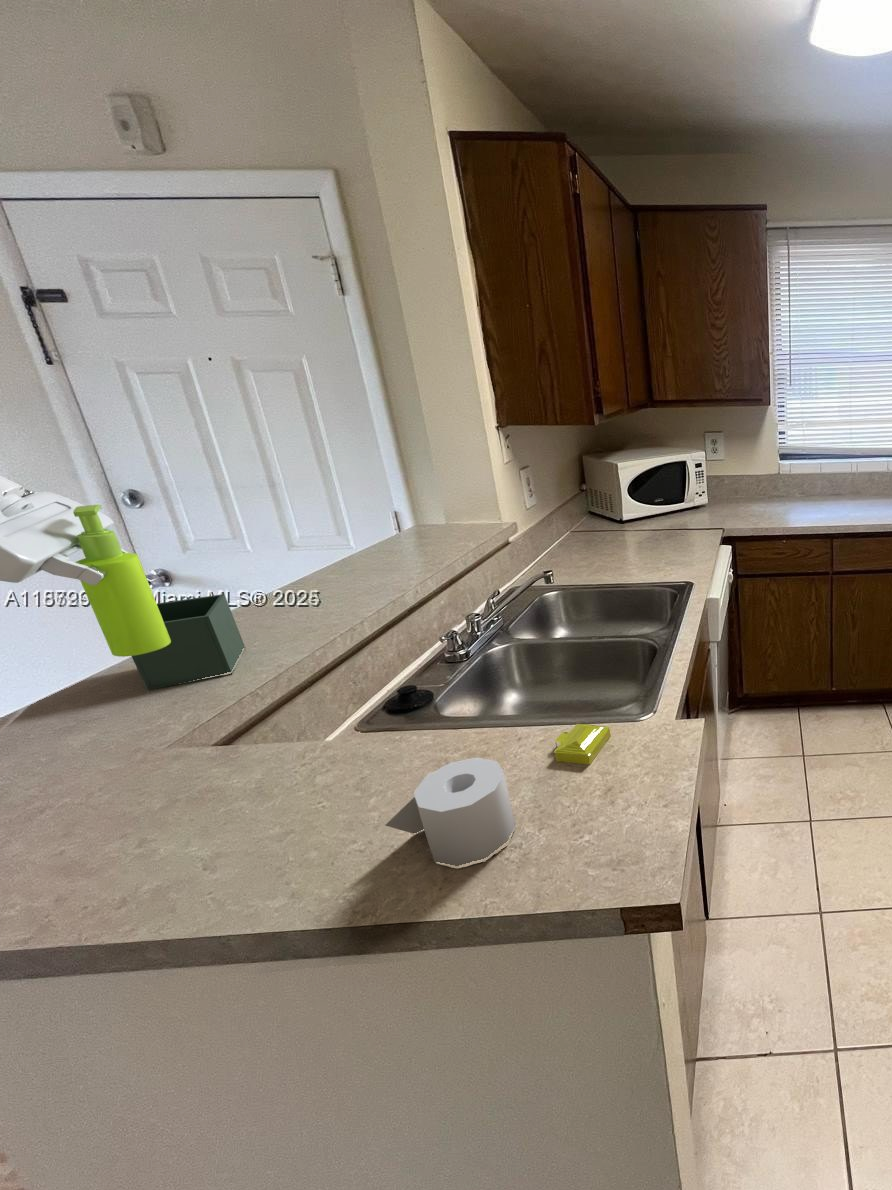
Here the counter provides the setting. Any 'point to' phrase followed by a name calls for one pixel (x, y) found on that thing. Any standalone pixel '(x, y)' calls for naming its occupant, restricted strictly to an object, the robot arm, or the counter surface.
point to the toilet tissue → (460, 811)
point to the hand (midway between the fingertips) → (115, 570)
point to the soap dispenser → (119, 591)
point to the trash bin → (192, 643)
